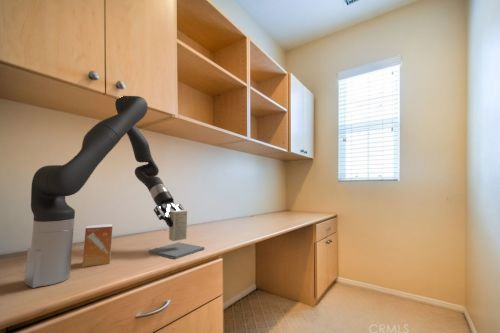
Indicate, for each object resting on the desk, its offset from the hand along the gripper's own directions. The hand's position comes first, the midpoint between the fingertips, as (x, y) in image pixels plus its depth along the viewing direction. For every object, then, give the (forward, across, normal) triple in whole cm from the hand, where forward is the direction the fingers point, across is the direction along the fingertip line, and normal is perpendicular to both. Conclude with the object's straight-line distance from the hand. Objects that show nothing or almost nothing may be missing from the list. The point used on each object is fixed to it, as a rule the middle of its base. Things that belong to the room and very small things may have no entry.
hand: (178, 224), depth 99 cm
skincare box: (+4, 0, +5) cm, 6 cm away
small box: (0, -26, +16) cm, 31 cm away
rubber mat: (+8, 0, +8) cm, 11 cm away
